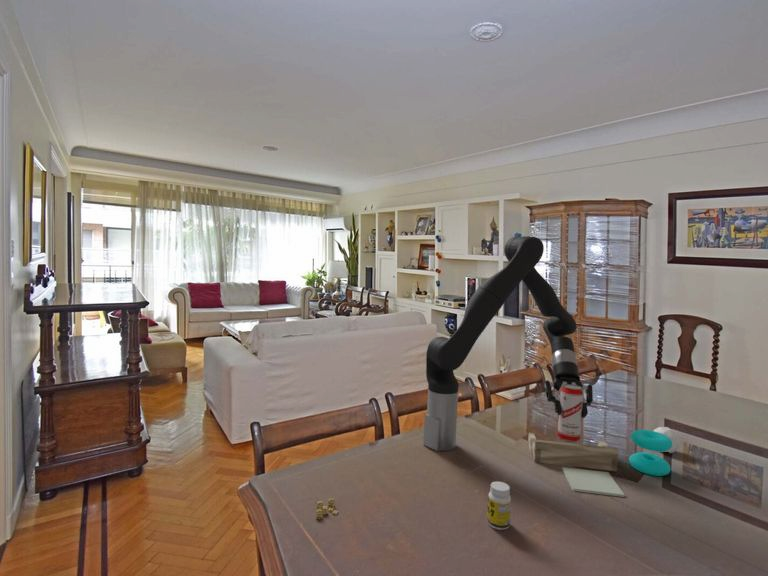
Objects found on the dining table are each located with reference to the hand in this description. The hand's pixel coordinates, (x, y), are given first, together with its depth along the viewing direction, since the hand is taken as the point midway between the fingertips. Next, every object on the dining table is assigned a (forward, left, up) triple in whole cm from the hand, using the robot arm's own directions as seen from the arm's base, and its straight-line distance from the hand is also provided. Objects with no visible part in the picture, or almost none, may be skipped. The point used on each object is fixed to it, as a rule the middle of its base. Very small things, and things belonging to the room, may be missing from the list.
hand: (571, 415), depth 127 cm
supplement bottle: (-46, -8, -13) cm, 48 cm away
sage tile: (-10, -11, -13) cm, 19 cm away
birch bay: (0, 0, -13) cm, 13 cm away
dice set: (-73, +17, -14) cm, 77 cm away
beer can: (+1, +1, -8) cm, 8 cm away
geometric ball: (+30, -15, -13) cm, 36 cm away
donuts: (+12, -17, -13) cm, 25 cm away
